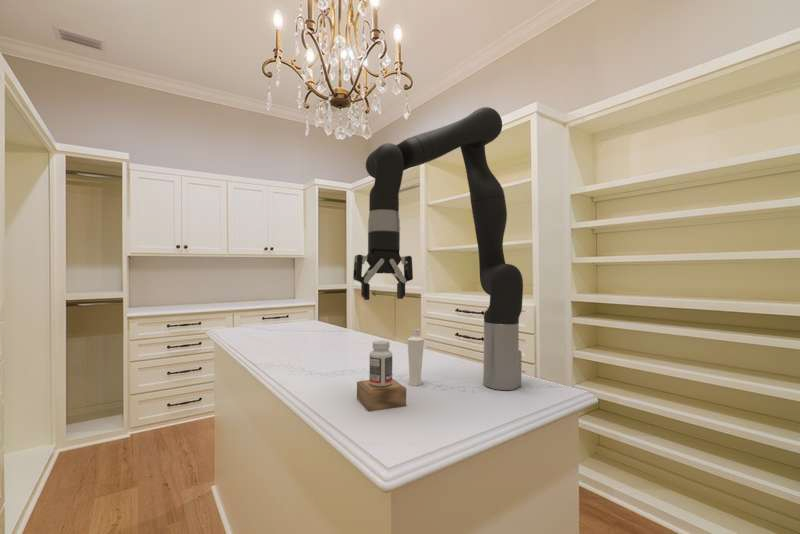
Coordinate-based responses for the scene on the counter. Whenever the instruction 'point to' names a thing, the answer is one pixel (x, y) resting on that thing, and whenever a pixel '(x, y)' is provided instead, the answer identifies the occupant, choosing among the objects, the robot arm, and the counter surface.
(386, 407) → the base block
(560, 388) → the counter surface
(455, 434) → the counter surface
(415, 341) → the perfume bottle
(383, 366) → the pill bottle
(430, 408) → the counter surface
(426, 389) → the counter surface
